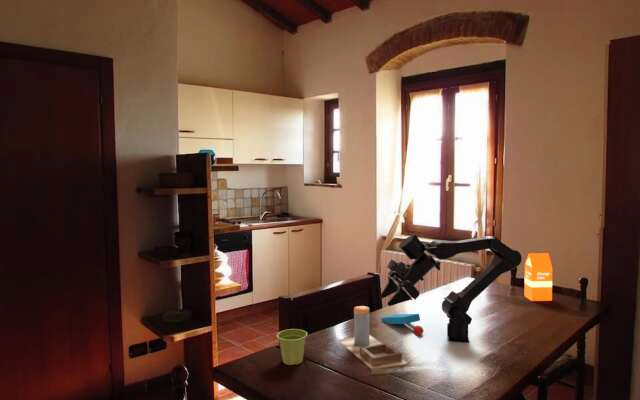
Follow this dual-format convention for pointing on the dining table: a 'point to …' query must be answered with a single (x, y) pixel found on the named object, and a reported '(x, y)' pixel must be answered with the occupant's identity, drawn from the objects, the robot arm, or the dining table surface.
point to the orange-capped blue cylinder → (361, 326)
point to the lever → (404, 321)
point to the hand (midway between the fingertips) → (384, 301)
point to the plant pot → (292, 345)
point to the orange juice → (538, 277)
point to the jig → (375, 354)
